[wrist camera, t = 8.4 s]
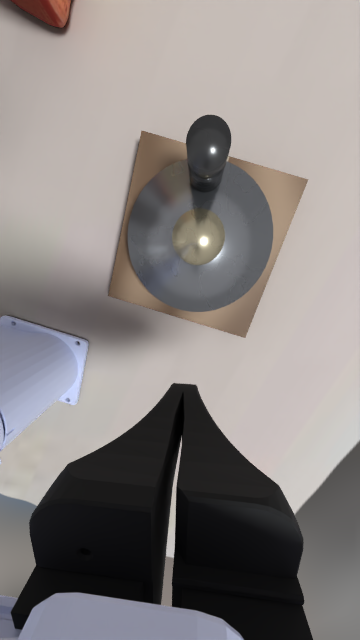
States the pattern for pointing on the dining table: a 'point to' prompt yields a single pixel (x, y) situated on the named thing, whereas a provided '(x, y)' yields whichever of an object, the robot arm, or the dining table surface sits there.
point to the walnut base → (283, 204)
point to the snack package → (47, 10)
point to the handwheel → (201, 226)
